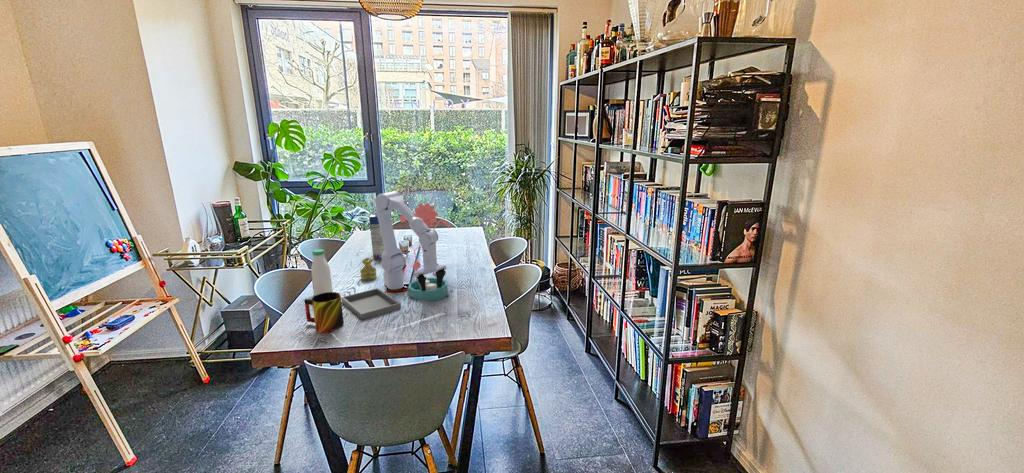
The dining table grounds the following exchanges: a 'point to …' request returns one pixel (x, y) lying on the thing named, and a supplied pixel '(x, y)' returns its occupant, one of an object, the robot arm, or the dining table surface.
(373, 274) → the olive yellow vase
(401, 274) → the robot arm
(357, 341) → the dining table surface
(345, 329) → the dining table surface
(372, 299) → the tray
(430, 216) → the figurine
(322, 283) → the milk bottle
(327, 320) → the mug
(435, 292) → the bowl
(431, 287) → the stone
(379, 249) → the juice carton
